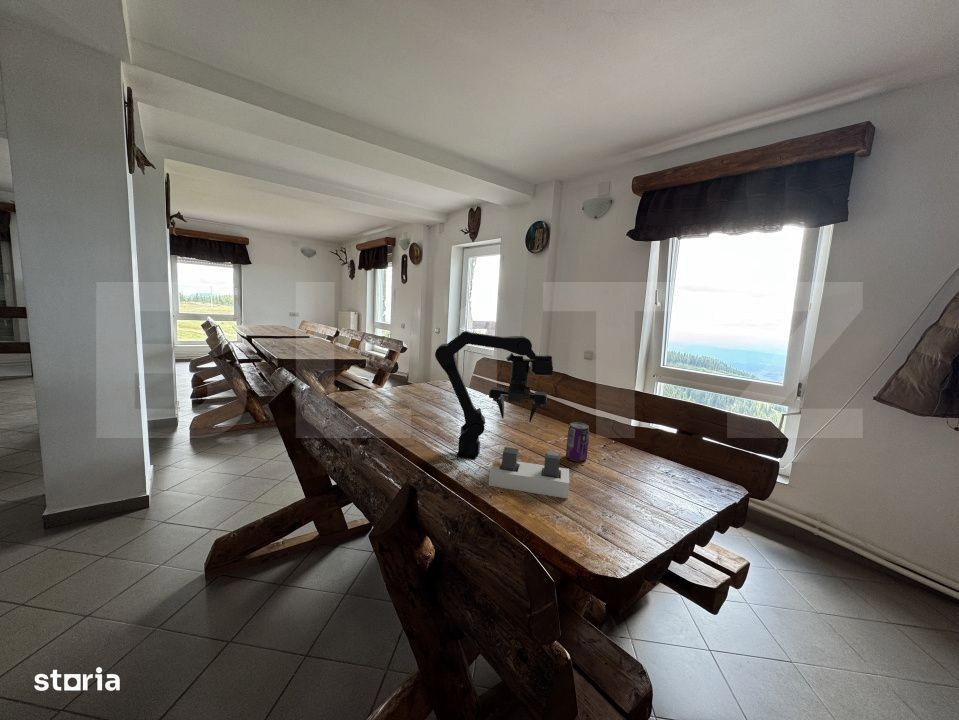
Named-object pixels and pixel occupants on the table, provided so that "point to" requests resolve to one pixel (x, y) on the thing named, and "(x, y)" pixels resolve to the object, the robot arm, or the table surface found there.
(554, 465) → the plug
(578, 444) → the beverage can
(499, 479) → the power strip
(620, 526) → the table surface
